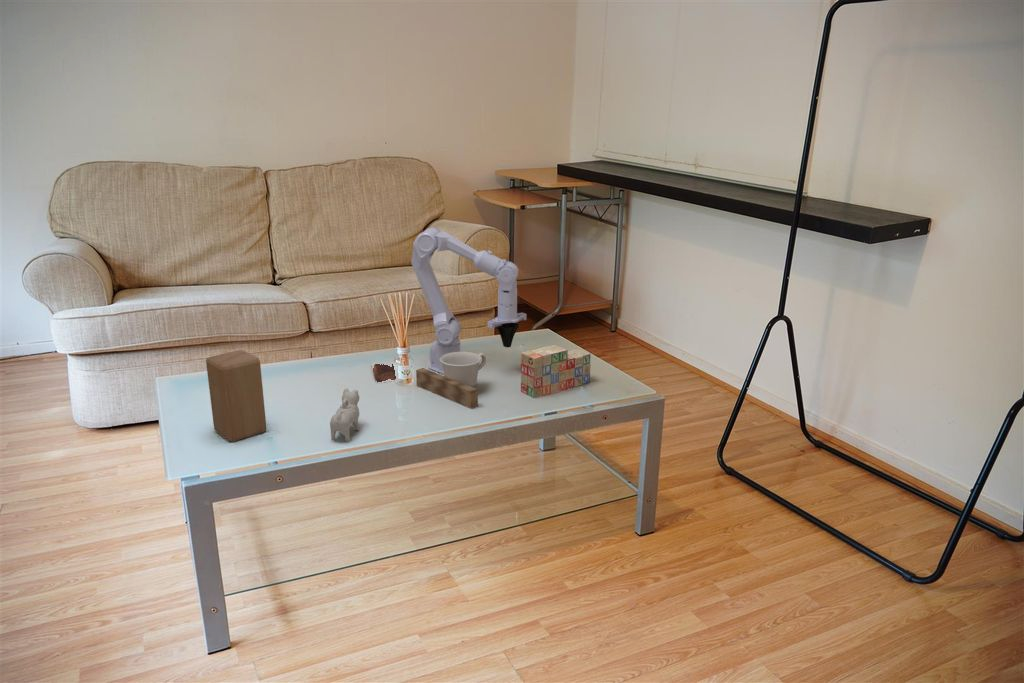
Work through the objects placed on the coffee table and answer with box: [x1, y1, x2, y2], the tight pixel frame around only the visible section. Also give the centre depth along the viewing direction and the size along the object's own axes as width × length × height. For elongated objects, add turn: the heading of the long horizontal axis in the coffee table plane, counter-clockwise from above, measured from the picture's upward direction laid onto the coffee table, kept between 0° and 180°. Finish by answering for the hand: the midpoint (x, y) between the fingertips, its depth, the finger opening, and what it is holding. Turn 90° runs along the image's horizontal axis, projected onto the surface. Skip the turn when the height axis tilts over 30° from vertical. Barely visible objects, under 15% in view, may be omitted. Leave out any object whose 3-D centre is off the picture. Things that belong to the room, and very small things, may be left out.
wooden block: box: [205, 349, 267, 442], centre depth 194 cm, size 10×10×20 cm
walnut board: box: [415, 367, 479, 410], centre depth 220 cm, size 24×2×5 cm, turn 45°
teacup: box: [440, 351, 487, 388], centre depth 224 cm, size 12×15×10 cm
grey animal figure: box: [329, 388, 361, 443], centre depth 195 cm, size 5×13×11 cm, turn 171°
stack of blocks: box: [520, 344, 592, 399], centre depth 226 cm, size 21×6×12 cm, turn 126°
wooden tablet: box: [372, 364, 396, 383], centre depth 244 cm, size 26×2×10 cm
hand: (507, 346), depth 237 cm, fingers closed
